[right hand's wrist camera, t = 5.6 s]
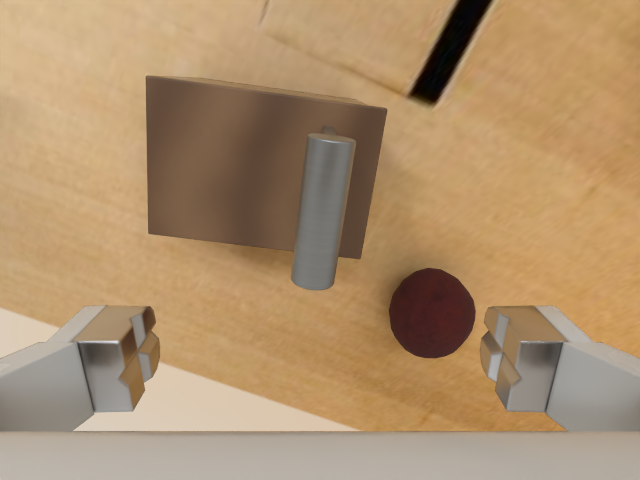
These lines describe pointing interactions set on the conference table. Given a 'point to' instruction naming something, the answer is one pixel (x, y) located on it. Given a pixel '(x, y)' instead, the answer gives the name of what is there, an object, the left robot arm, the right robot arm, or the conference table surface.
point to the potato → (431, 313)
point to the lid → (262, 171)
